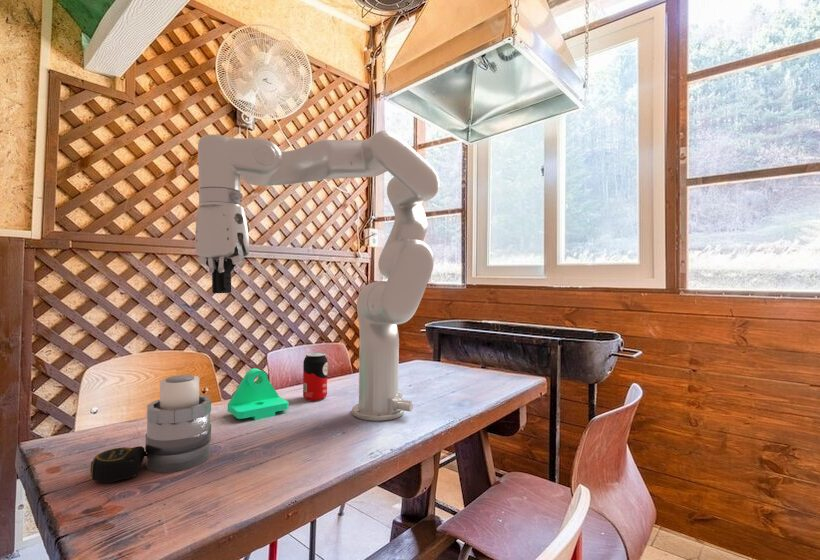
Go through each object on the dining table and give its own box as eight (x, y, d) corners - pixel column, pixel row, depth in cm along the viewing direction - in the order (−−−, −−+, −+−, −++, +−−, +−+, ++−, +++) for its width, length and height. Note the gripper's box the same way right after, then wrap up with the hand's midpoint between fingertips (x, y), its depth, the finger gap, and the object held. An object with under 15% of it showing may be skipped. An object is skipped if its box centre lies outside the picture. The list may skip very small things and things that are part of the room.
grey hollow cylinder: (223, 454, 74) (224, 398, 74) (171, 477, 65) (172, 414, 65) (185, 444, 78) (186, 392, 78) (131, 465, 69) (132, 406, 69)
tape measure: (137, 483, 63) (137, 459, 63) (83, 490, 61) (83, 465, 61) (147, 464, 70) (147, 442, 70) (98, 471, 67) (99, 448, 67)
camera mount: (238, 424, 90) (239, 377, 90) (227, 415, 95) (228, 371, 95) (290, 413, 98) (290, 370, 98) (276, 405, 103) (277, 365, 103)
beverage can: (309, 403, 105) (309, 357, 105) (299, 397, 110) (299, 353, 110) (331, 399, 109) (331, 354, 109) (320, 394, 114) (321, 351, 114)
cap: (206, 411, 73) (207, 376, 73) (175, 421, 67) (175, 383, 67) (183, 406, 75) (183, 372, 75) (151, 416, 70) (152, 379, 70)
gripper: (263, 200, 81) (265, 292, 81) (208, 206, 87) (210, 292, 87) (234, 193, 74) (236, 294, 74) (176, 200, 80) (178, 293, 80)
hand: (222, 292), depth 81 cm, fingers closed
